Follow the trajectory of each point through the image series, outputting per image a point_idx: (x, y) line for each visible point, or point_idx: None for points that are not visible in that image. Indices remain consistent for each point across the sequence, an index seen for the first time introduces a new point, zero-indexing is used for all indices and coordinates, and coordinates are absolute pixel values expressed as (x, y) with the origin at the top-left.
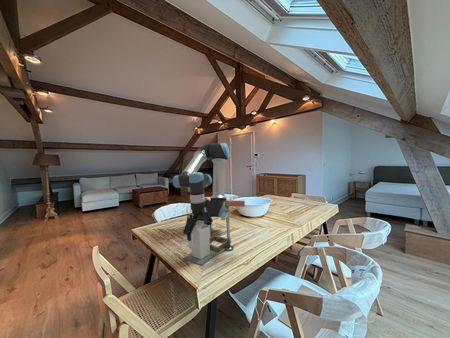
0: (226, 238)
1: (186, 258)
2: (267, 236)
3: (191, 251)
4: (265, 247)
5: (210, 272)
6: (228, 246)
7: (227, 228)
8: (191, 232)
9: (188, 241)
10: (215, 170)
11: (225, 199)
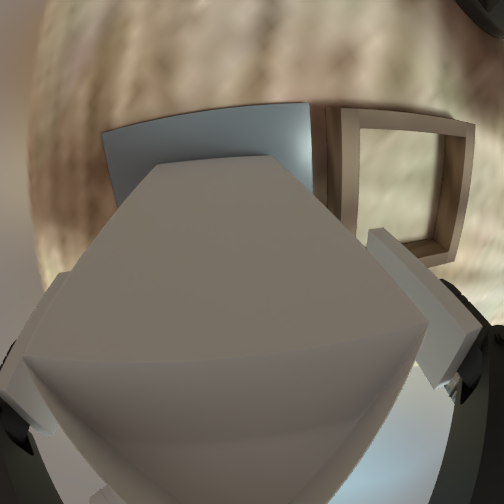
0: (459, 231)
1: (108, 165)
2: (492, 316)
3: (148, 174)
4: None
5: None
6: None
7: (448, 389)
8: (35, 452)
9: (38, 309)
10: None
11: None
